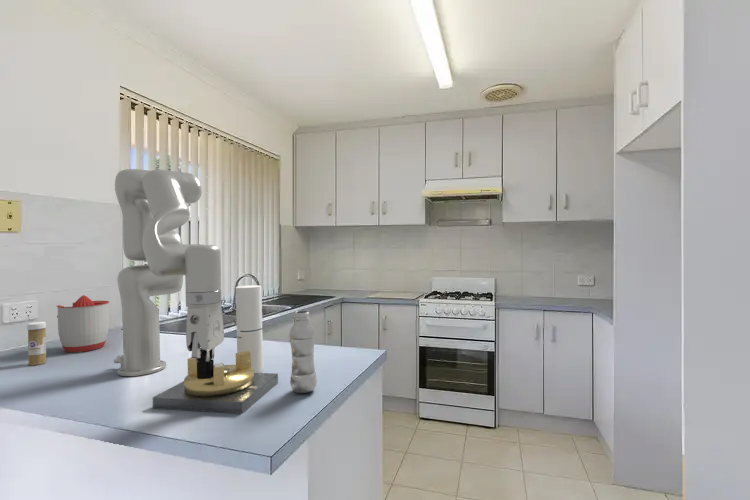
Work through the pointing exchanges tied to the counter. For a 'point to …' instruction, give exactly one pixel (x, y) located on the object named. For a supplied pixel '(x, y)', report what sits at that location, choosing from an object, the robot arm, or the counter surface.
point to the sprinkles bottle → (36, 343)
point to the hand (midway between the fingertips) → (205, 377)
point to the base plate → (216, 397)
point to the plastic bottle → (302, 354)
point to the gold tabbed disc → (220, 377)
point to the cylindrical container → (250, 324)
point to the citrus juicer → (83, 325)
